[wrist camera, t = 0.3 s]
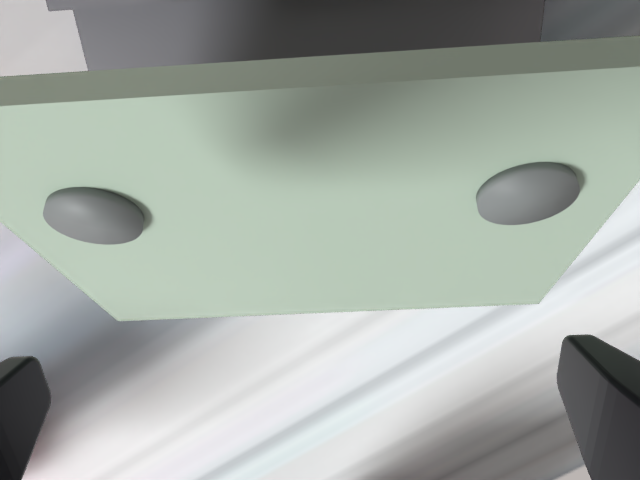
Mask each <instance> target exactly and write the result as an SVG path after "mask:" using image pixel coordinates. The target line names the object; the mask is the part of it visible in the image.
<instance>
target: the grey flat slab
mask: <svg viewBox="0 0 640 480" xmlns="http://www.w3.org/2000/svg"><path fill="white" fill-rule="evenodd" d="M46 3H47V7H48V11H58V10H73V12H74V16H75V20H76V24H77V28H78V32H79V36H80V40H81V44H82V48H83V52H84V56H85V60H86V64H87V68H88V71H97V70H113V69H128V68H144V67H159V66H175V65H190V64H206V63H221V62H237V61H252V60H268V59H283V58H299V57H314V56H330V55H345V54H361V53H376V52H392V51H407V50H423V49H438V48H454V47H469V46H485V45H500V44H516V43H531V42H540V39H541V30H542V22H543V13H544V4H545V0H46Z"/></svg>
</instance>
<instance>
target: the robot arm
mask: <svg viewBox="0 0 640 480" xmlns="http://www.w3.org/2000/svg"><path fill="white" fill-rule="evenodd" d="M557 384H558V389H559V392H560V395H561V398H562V400H563V403H564V406H565V409H566V412H567V415H568V417H569V420H570V423H571V426H572V429H573V431H574V434H575V437H576V440H577V443H578V446H579V448H580V451H581V454H582V457H583V460H584V462H585V465H586V467H587V470H588V473H589V475H590V477H591V479H592V480H640V361H639V360H637V359H635V358H633V357H632V356H630V355H628V354H626V353H624V352H622V351H620V350H619V349H617V348H615V347H613V346H611V345H609V344H608V343H606V342H604V341H602V340H600V339H598V338H597V337H595V336H592V335H568V336H566V337H565V338H564V340H563V342H562V346H561V353H560V359H559V365H558V372H557ZM50 403H51V393H50V390H49V387H48V384H47V381H46V378H45V376H44V373H43V370H42V367H41V364H40V362H39V361H38V359H37V358H35V357H33V356H22V357H11V358H8V359H6V360H4V361H2V362H0V480H21V479H22V477H23V475H24V472H25V470H26V467H27V464H28V462H29V459H30V457H31V454H32V452H33V449H34V446H35V444H36V441H37V439H38V436H39V434H40V431H41V428H42V426H43V423H44V421H45V418H46V416H47V413H48V410H49V408H50Z"/></svg>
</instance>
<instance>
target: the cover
mask: <svg viewBox="0 0 640 480" xmlns="http://www.w3.org/2000/svg"><path fill="white" fill-rule="evenodd" d="M639 180H640V36H624V37H609V38H593V39H578V40H562V41H547V42H531V43H516V44H500V45H485V46H469V47H454V48H438V49H423V50H407V51H392V52H376V53H361V54H345V55H330V56H314V57H299V58H283V59H268V60H252V61H237V62H221V63H206V64H190V65H175V66H159V67H144V68H128V69H113V70H97V71H82V72H66V73H51V74H35V75H20V76H4V77H0V222H1V223H2V224H4V225H5V226H6V227H7V228H8V229H9V230H11V231H12V232H13V233H14V234H15V235H17V236H18V237H19V238H20V239H21V240H22V241H24V242H25V243H26V244H27V245H28V246H30V247H31V248H32V249H33V250H34V251H35V252H37V253H38V254H39V255H40V256H41V257H43V258H44V259H45V260H46V261H47V262H48V263H50V264H51V265H52V266H53V267H54V268H56V269H57V270H58V271H59V272H60V273H61V274H63V275H64V276H65V277H66V278H67V279H69V280H70V281H71V282H72V283H73V284H74V285H76V286H77V287H78V288H79V289H80V290H82V291H83V292H84V293H85V294H86V295H87V296H89V297H90V298H91V299H92V300H93V301H95V302H96V303H97V304H98V305H99V306H100V307H102V308H103V309H104V310H105V311H106V312H107V313H109V314H110V315H111V316H112V317H113V318H115V319H116V320H117V321H137V320H161V319H185V318H209V317H233V316H257V315H281V314H305V313H329V312H353V311H377V310H401V309H425V308H449V307H474V306H498V305H522V304H539V303H540V302H541V300H542V299H543V298H544V297H545V296H546V294H547V293H548V292H549V291H550V289H551V288H552V287H553V286H554V285H555V283H556V282H557V281H558V280H559V278H560V277H561V276H562V275H563V273H564V272H565V271H566V270H567V269H568V267H569V266H570V265H571V264H572V262H573V261H574V260H575V259H576V258H577V256H578V255H579V254H580V253H581V251H582V250H583V249H584V248H585V246H586V245H587V244H588V243H589V242H590V240H591V239H592V238H593V237H594V235H595V234H596V233H597V232H598V231H599V229H600V228H601V227H602V226H603V224H604V223H605V222H606V221H607V219H608V218H609V217H610V216H611V215H612V213H613V212H614V211H615V210H616V208H617V207H618V206H619V205H620V204H621V202H622V201H623V200H624V199H625V197H626V196H627V195H628V194H629V192H630V191H631V190H632V189H633V188H634V186H635V185H636V184H637V183H638V181H639Z"/></svg>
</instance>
